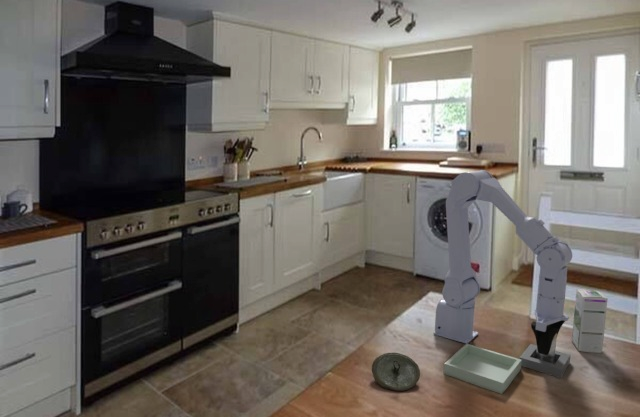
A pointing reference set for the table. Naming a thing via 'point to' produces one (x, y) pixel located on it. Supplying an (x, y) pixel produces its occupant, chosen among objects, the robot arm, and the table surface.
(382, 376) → the lid
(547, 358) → the pin
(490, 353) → the tray
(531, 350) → the holder
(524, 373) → the table surface
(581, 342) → the syrup box
